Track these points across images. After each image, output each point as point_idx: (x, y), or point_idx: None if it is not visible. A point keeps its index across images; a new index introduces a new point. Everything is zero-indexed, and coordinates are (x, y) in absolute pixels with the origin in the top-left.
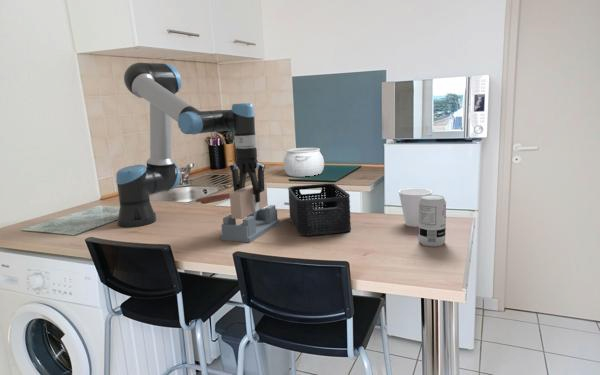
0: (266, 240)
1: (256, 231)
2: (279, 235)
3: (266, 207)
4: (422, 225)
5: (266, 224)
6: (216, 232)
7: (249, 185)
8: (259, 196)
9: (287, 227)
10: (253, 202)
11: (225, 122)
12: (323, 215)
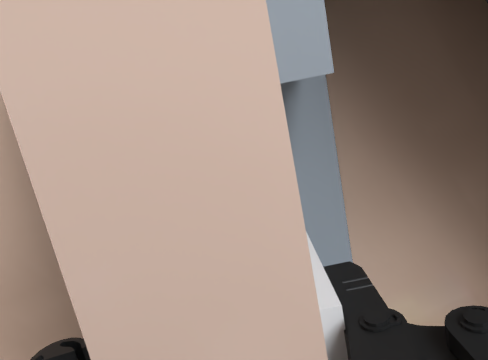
0: (429, 295)
1: (323, 265)
2: (455, 186)
3: (275, 50)
4: None
5: (284, 97)
6: (24, 320)
7: (75, 294)
8: (379, 302)
9: (415, 3)
10: None
11: None
12: None
